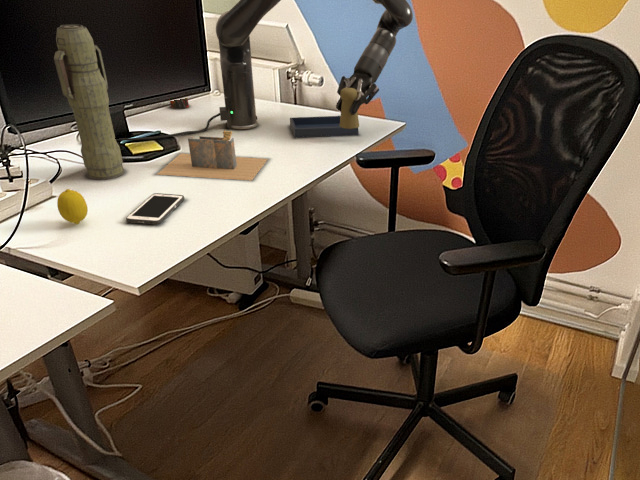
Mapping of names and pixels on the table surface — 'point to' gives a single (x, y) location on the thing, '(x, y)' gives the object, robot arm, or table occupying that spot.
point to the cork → (346, 117)
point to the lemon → (72, 206)
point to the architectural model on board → (213, 160)
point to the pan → (319, 127)
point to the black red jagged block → (179, 104)
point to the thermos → (88, 100)
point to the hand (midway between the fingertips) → (344, 111)
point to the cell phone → (155, 208)
